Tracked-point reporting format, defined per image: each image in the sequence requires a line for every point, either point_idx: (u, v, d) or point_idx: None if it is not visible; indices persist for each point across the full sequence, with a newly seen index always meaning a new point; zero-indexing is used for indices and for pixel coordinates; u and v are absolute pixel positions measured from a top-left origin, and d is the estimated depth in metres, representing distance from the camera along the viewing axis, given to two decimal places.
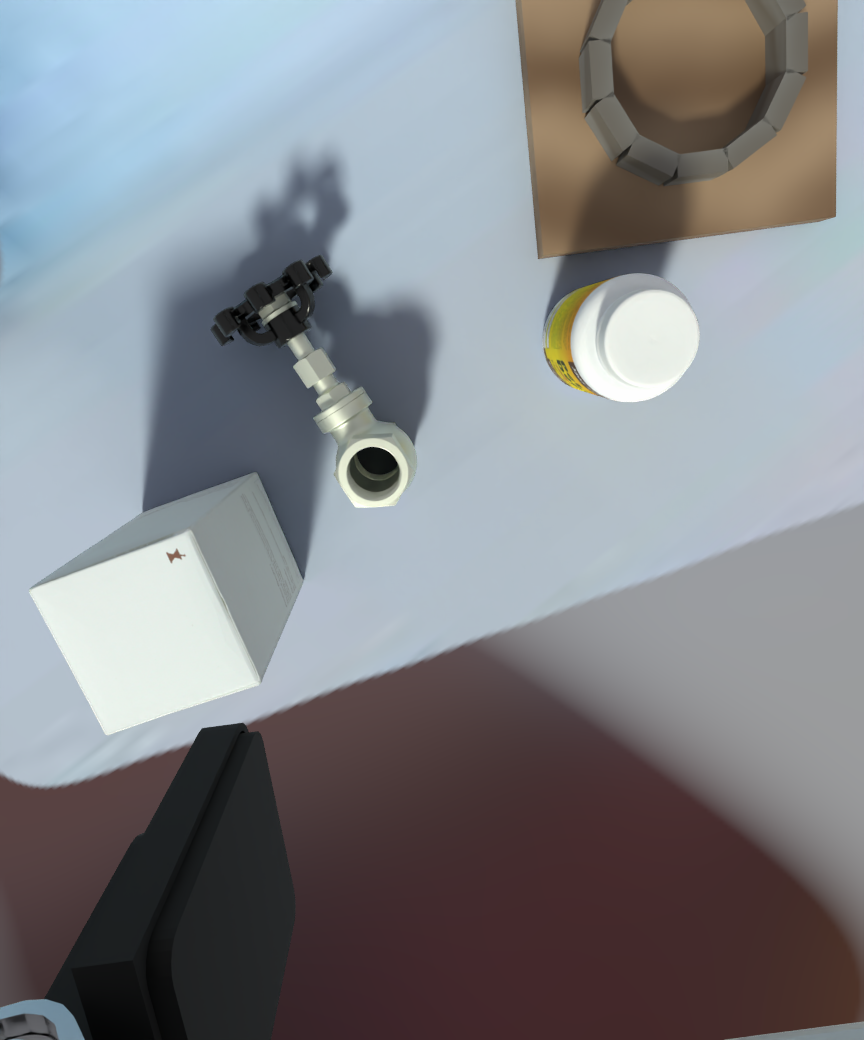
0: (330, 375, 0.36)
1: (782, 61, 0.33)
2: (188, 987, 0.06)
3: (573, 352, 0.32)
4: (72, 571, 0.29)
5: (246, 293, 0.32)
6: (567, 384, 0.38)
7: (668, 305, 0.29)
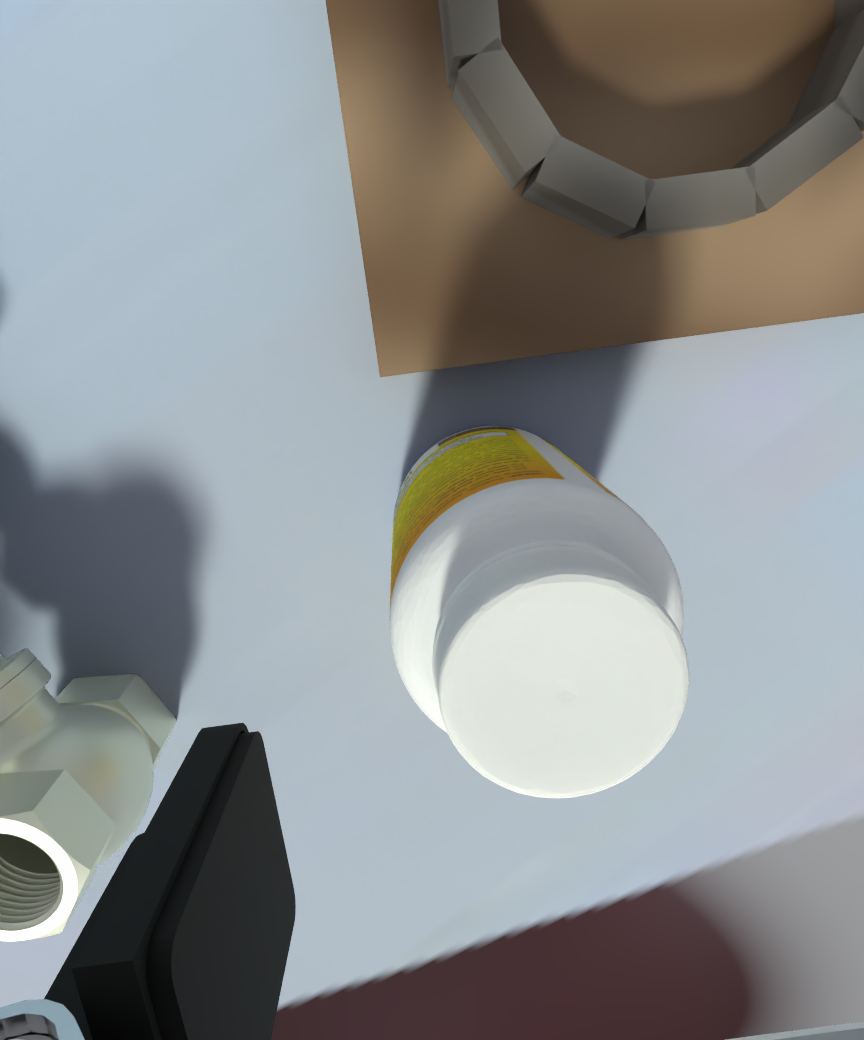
0: None
1: None
2: (188, 987, 0.06)
3: (394, 657, 0.13)
4: None
5: None
6: None
7: (606, 612, 0.11)
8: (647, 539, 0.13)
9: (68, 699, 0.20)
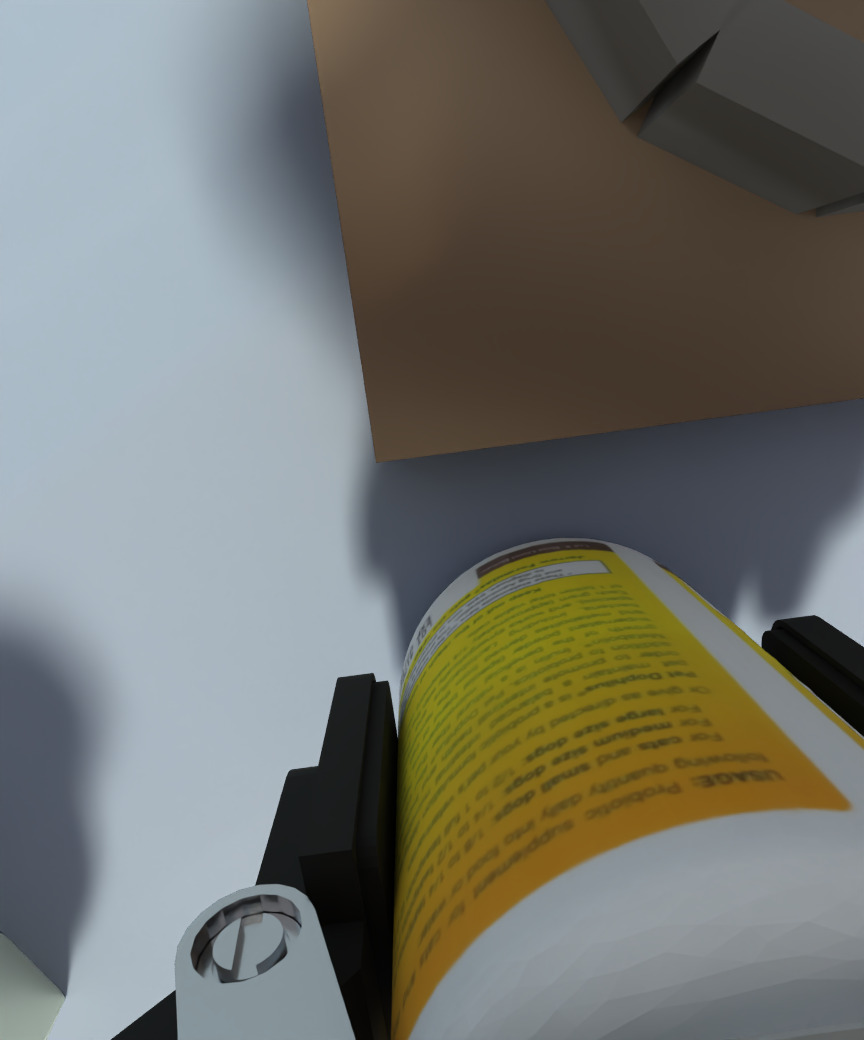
0: None
1: None
2: (384, 881, 0.07)
3: None
4: None
5: None
6: None
7: None
8: None
9: None
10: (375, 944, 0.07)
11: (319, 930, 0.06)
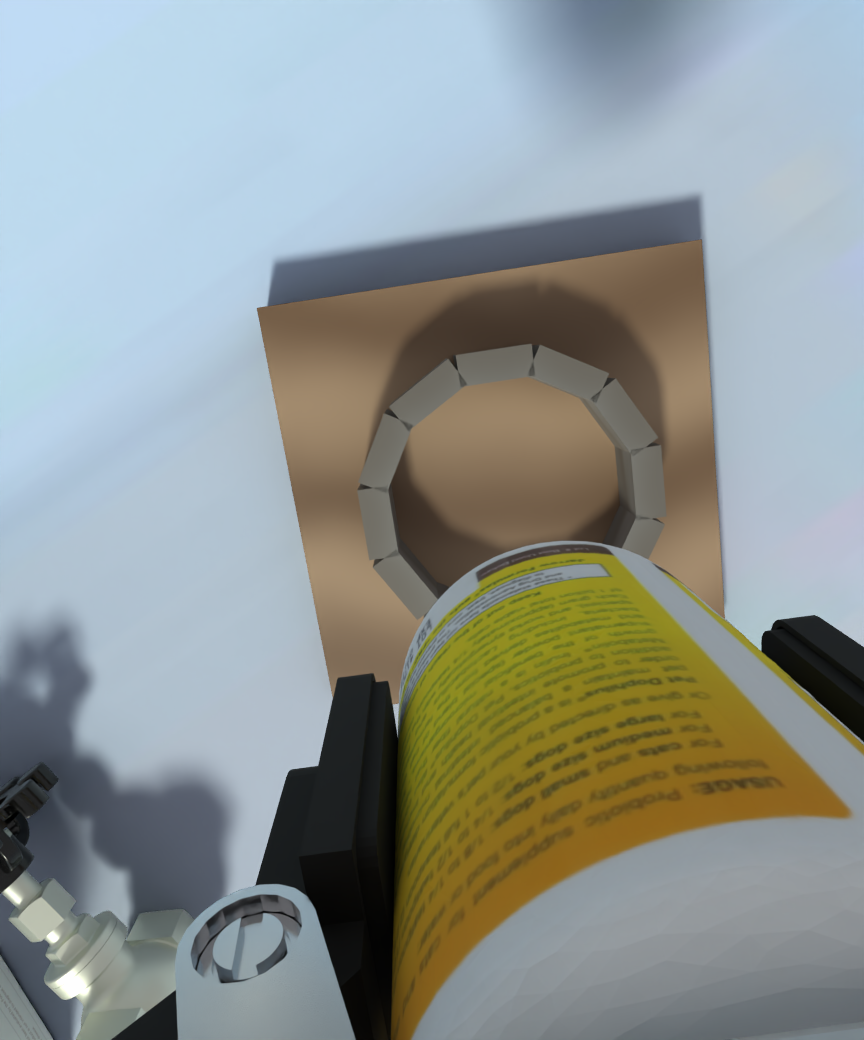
0: None
1: (632, 499, 0.24)
2: (384, 880, 0.07)
3: None
4: None
5: None
6: None
7: None
8: None
9: (137, 936, 0.30)
10: (375, 944, 0.07)
11: (319, 930, 0.06)
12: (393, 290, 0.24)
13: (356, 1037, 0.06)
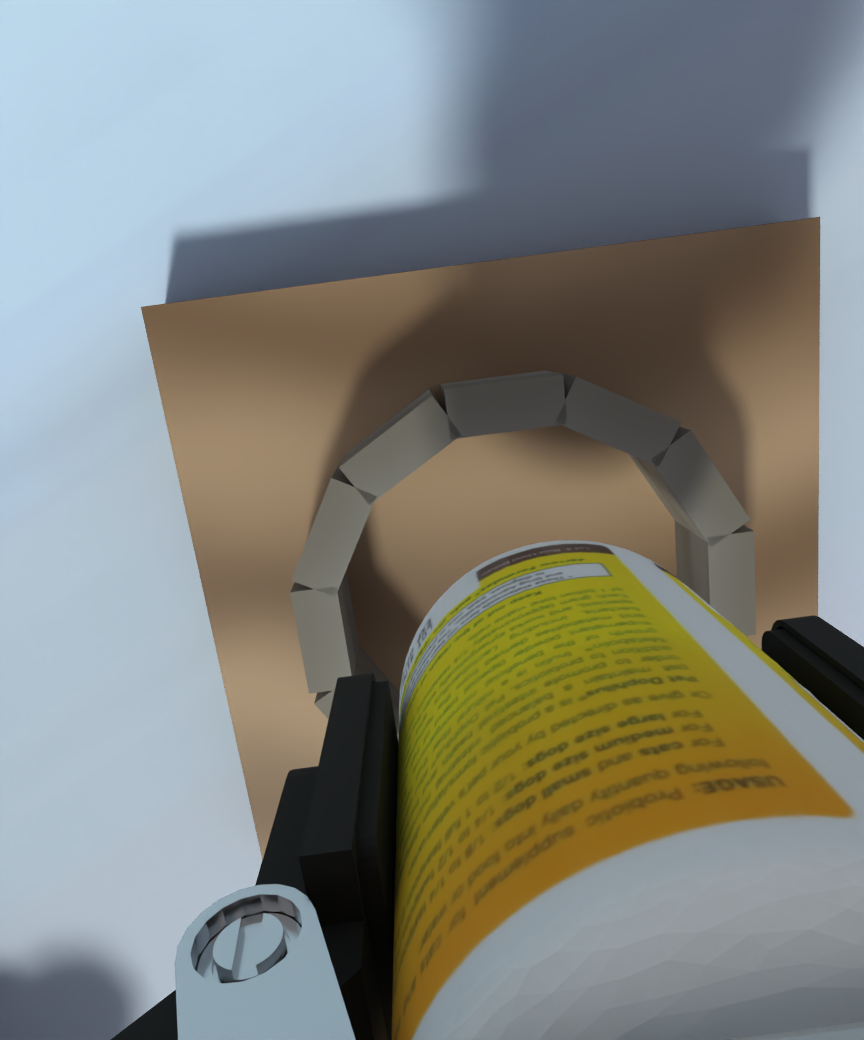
0: None
1: None
2: (384, 881, 0.07)
3: None
4: None
5: None
6: None
7: None
8: None
9: None
10: (375, 944, 0.07)
11: (319, 930, 0.06)
12: (350, 284, 0.16)
13: (356, 1037, 0.06)
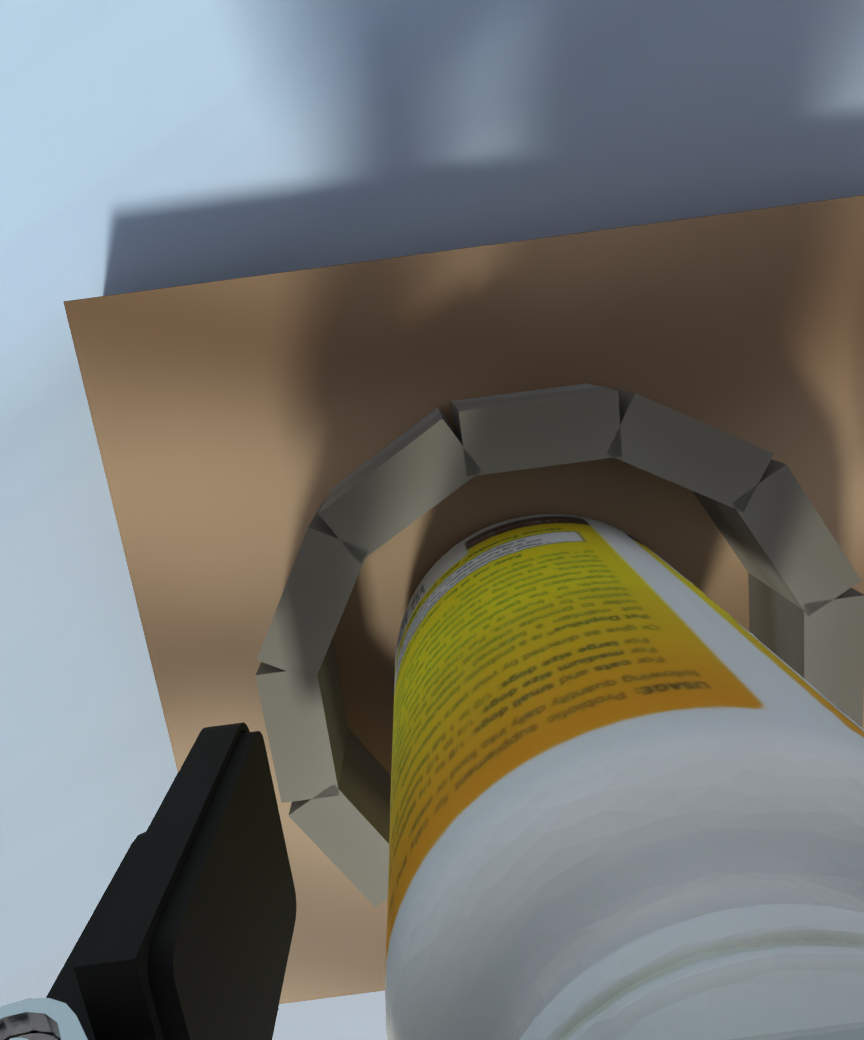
0: None
1: None
2: (190, 986, 0.06)
3: None
4: None
5: None
6: None
7: None
8: None
9: None
10: None
11: None
12: (336, 272, 0.12)
13: None
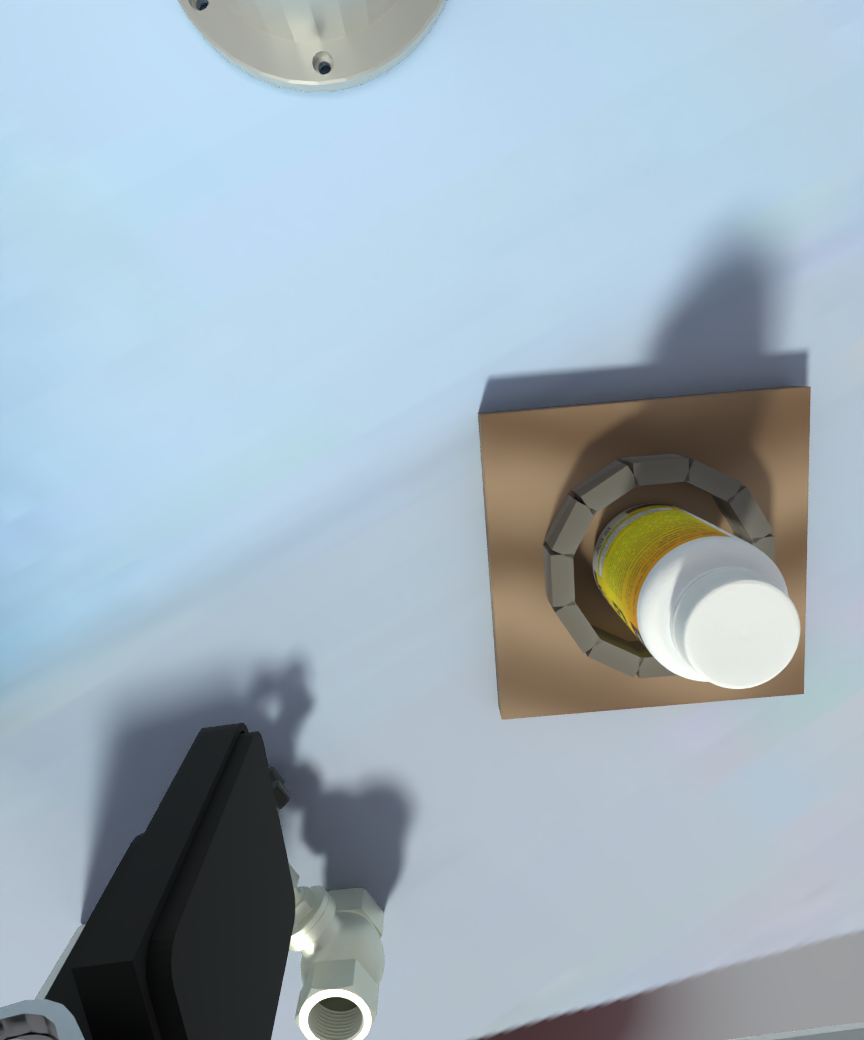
0: None
1: None
2: (188, 987, 0.06)
3: (640, 623, 0.26)
4: None
5: None
6: None
7: (764, 598, 0.24)
8: (774, 568, 0.26)
9: None
10: None
11: None
12: (582, 408, 0.33)
13: None
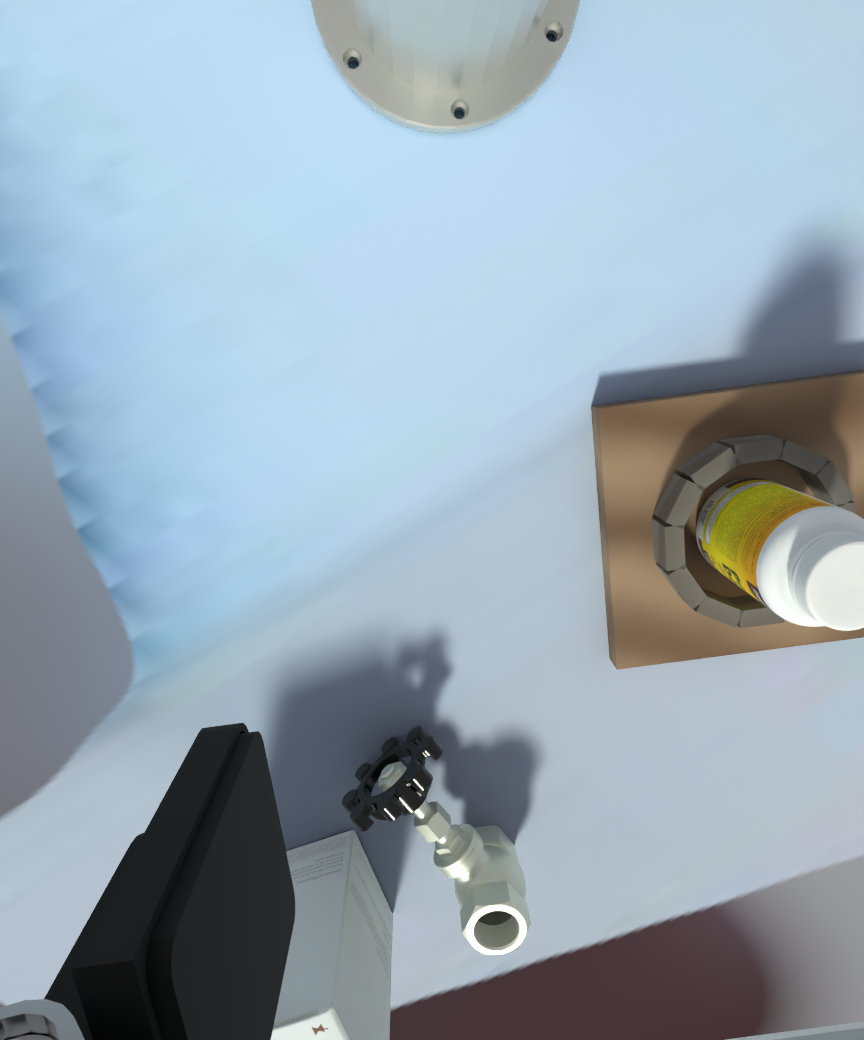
0: None
1: None
2: (188, 987, 0.06)
3: (760, 581, 0.32)
4: None
5: (380, 810, 0.37)
6: None
7: None
8: None
9: None
10: None
11: None
12: (685, 399, 0.38)
13: None
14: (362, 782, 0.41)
